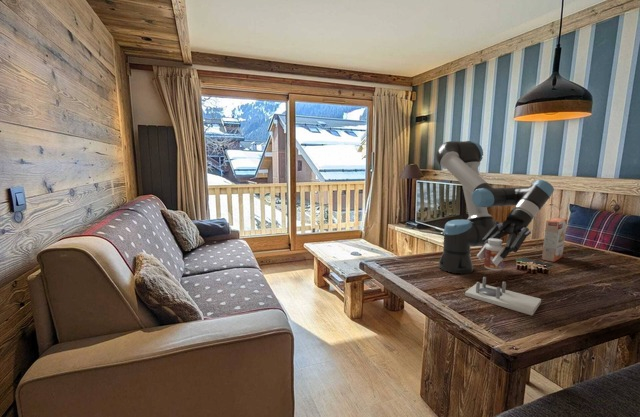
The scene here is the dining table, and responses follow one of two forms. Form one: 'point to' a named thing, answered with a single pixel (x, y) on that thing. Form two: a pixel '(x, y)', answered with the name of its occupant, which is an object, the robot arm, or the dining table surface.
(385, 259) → the dining table surface
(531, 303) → the pin tray
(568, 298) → the dining table surface
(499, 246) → the pill bottle
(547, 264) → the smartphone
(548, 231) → the cracker box
